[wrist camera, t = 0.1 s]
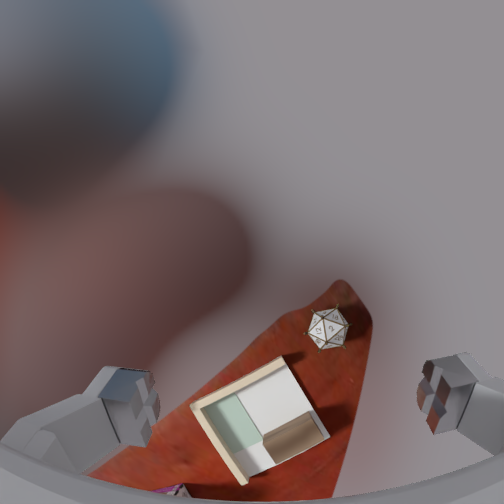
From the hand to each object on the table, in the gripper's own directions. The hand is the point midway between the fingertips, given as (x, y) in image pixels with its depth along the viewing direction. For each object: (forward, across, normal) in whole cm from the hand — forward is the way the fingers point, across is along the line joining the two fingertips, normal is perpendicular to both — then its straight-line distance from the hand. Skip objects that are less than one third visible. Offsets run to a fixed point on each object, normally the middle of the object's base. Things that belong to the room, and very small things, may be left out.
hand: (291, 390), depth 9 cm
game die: (+49, +10, -24) cm, 55 cm away
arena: (+40, -3, -40) cm, 57 cm away
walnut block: (+38, +3, -42) cm, 57 cm away
